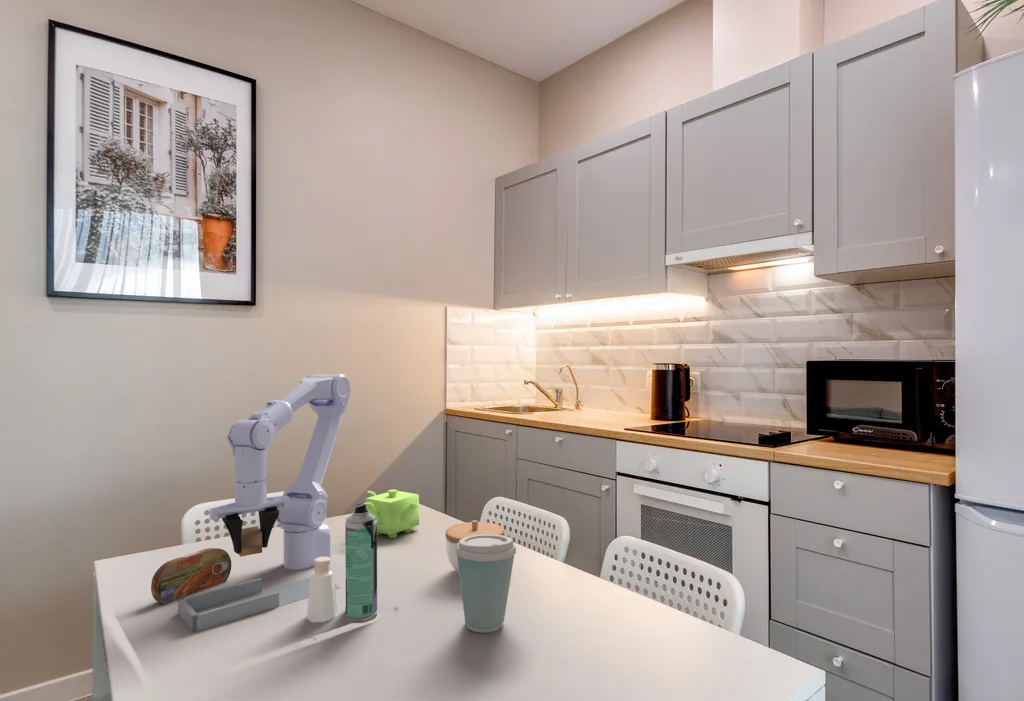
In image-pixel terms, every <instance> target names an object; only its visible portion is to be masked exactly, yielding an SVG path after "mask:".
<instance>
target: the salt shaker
mask: <svg viewBox="0 0 1024 701" xmlns="http://www.w3.org/2000/svg"><path fill="white" fill-rule="evenodd" d="M330 567H331V557H330V558H329V557H318V558H316V559H315V560H314V566H313V568H314V572H312V574H311V575H310V577H311V580H310V590H309V598H308V601H307V612H306V620H308V621H310V622H311V623H325V622H328V621H331V620H333V619H335V618H336V617H337V616H338V613H339V612H338V602H337V593H336V592H337V591H336V590H335V585H336V584H335V576H334V575H335V574H334V571H332V570H330V569H331V568H330Z"/></svg>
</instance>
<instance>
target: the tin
mask: <svg viewBox="0 0 1024 701" xmlns="http://www.w3.org/2000/svg"><path fill="white" fill-rule="evenodd" d="M231 571H232V559H231V556H230V554H229V553H228V552H227V551H226V550H225V549H222V548H218V547H217V548H216V547H215V548H214V547H213V548H212V547H207V548H204V549H200V550H198V551H195V552H192V553H189V554H186V555H183V556H180V557H176V558H174V559H171V560H167V561H166V562H164V563H163V564H161V566H159V567H158V568H157V570H156V571H155V573H154V575H153V576H152V579H151V583H150V590H151V591H150V592H151V595H152V598H153V599H154V601H156V602H157V603H160V604H163V605H165V606H166V605H168V604H169V603H172V602H174V601H178V599H182V598H186V597H189V596H190V595H191V596H192V595H193V594H196V593H198V592H201V591H204V590H207V589H209V588H211V587H214V586H216V585H219V584H220V585H221V584H224V583H226V582H227V581H228V579H229V576H230V575H231Z"/></svg>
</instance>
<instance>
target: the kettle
mask: <svg viewBox="0 0 1024 701" xmlns="http://www.w3.org/2000/svg"><path fill="white" fill-rule="evenodd" d="M366 492H367V493H368V494H369V497H366V498H365V502H363V503H364V504H366V509H367V510H369V513H371V514H372V515H375V516H376V520H377V536H378V535H382V534H385V535H388V536H387V537H388V538H389V539H395V538H398V533H400V532H403V533H406V534H407V533H408V534H409V533H411V532H412V529H411V528H413V527H417V526H419V524H420V510H419V509H420V508H419V506H420V502H419V501H420V496H419V494H417V493H412V492H406V491H402V490H401V491H400V490H397V489H389V490H387V492H384V493H380V494H376V492H374V491H372V490H367V491H366Z"/></svg>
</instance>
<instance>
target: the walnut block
mask: <svg viewBox="0 0 1024 701" xmlns="http://www.w3.org/2000/svg"><path fill="white" fill-rule="evenodd" d="M241 543H242V551H241V553H239V554H238V556H239V557H246V556H251V555H257V554H261V553H263V547H262V532H261V530H260V526H258V525H257V526H250V527H245V528H242V533H241Z"/></svg>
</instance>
